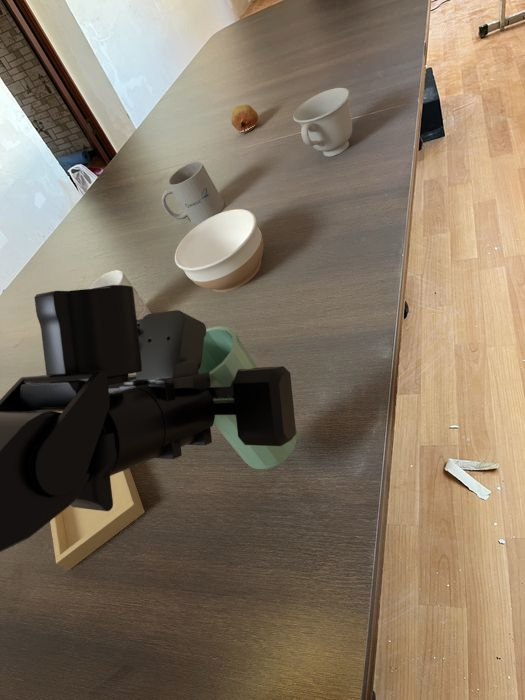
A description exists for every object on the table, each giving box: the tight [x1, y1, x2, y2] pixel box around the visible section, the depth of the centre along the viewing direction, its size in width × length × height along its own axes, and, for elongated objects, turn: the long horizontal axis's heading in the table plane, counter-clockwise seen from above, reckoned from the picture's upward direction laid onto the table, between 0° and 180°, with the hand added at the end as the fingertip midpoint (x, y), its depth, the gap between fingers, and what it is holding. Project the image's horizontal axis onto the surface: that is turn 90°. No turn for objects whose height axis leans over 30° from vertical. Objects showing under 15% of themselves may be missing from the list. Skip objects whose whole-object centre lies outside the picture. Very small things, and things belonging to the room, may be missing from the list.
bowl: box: [174, 208, 265, 293], centre depth 88 cm, size 16×16×8 cm
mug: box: [161, 160, 225, 225], centre depth 109 cm, size 12×9×10 cm
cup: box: [198, 325, 298, 470], centre depth 50 cm, size 7×7×15 cm
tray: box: [49, 411, 145, 571], centre depth 72 cm, size 30×12×2 cm, turn 29°
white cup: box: [87, 269, 152, 320], centre depth 90 cm, size 8×8×10 cm
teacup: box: [292, 87, 353, 158], centre depth 101 cm, size 12×15×10 cm
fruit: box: [230, 104, 259, 134], centre depth 132 cm, size 7×7×10 cm
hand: (242, 392), depth 51 cm, fingers closed on cup, 7 cm apart
